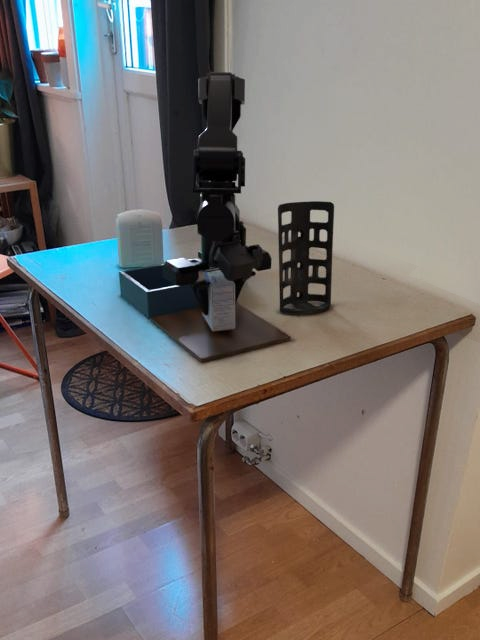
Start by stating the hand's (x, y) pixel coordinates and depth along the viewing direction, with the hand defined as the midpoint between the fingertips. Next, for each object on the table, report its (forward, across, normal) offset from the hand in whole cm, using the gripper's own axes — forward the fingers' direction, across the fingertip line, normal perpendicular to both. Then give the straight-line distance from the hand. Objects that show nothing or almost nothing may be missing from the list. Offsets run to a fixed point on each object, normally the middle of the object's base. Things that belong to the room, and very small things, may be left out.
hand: (218, 311), depth 117 cm
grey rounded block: (+4, +3, +41) cm, 41 cm away
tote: (+4, 0, +18) cm, 18 cm away
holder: (+4, +20, +2) cm, 20 cm away
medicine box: (+2, 0, 0) cm, 2 cm away
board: (+4, 0, 0) cm, 4 cm away
